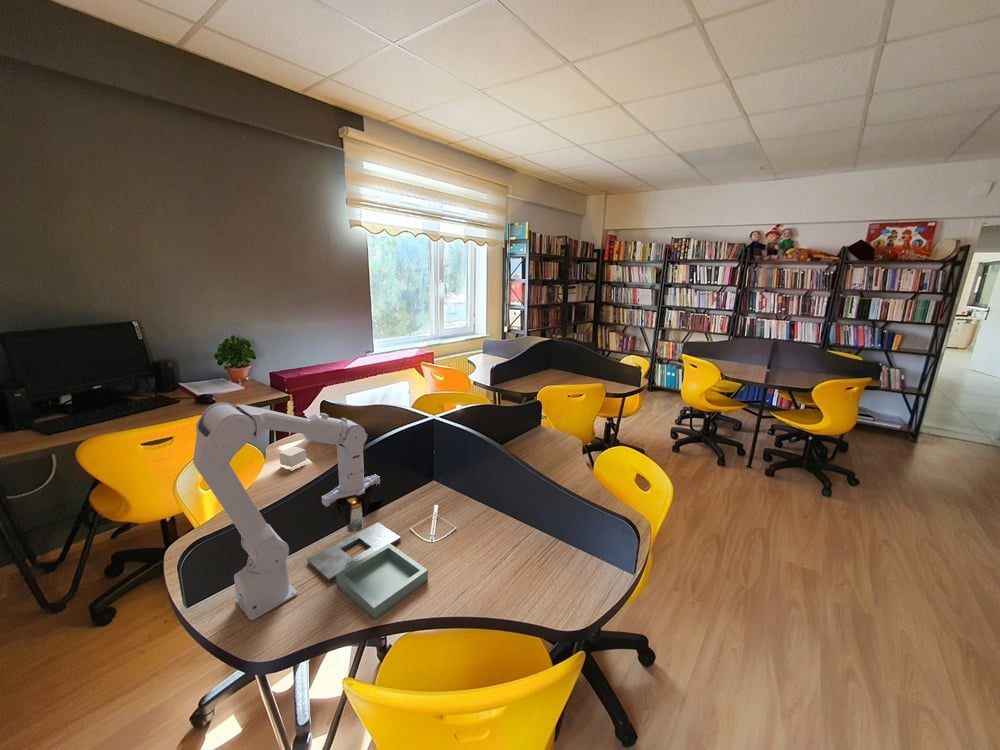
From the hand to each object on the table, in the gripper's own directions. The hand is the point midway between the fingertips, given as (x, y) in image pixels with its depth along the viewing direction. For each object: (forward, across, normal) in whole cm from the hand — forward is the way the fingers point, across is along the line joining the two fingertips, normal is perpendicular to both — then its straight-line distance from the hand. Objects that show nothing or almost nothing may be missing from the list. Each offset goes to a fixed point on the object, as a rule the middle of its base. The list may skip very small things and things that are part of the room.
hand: (354, 519), depth 100 cm
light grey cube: (+10, +11, +57) cm, 59 cm away
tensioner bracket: (+9, 0, 0) cm, 9 cm away
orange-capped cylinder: (+2, 0, 0) cm, 2 cm away
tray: (+9, -2, -14) cm, 17 cm away
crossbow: (+10, +21, -6) cm, 24 cm away
